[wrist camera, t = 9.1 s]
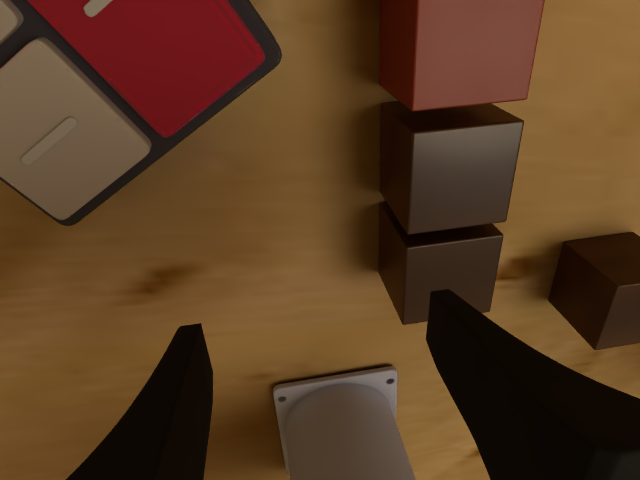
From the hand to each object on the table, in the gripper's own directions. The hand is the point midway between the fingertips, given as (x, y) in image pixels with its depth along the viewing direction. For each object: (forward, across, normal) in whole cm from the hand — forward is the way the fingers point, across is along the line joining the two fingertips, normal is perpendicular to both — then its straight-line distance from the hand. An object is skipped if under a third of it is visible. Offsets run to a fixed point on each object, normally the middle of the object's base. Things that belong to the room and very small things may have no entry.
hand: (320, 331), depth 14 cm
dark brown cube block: (+9, -7, +3) cm, 12 cm away
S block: (+9, -6, -7) cm, 14 cm away
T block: (+9, -7, -2) cm, 12 cm away
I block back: (+9, -18, +7) cm, 21 cm away
